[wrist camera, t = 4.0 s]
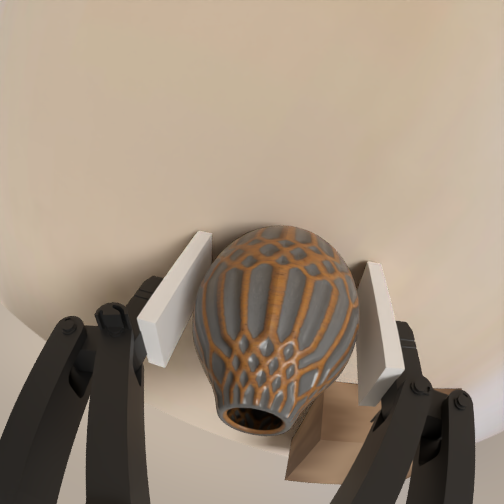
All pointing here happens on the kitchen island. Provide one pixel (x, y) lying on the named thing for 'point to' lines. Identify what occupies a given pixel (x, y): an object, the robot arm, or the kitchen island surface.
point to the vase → (274, 326)
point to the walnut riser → (332, 436)
